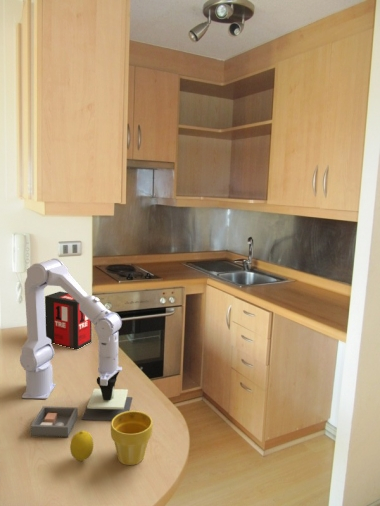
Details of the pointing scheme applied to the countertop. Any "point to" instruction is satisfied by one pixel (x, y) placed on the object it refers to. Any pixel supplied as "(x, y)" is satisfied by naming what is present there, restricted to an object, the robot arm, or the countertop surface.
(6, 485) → the countertop surface
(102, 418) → the mat
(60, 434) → the storage box
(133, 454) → the plant pot
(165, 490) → the countertop surface
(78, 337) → the cleaning product box
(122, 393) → the lid
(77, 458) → the lemon
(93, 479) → the countertop surface
